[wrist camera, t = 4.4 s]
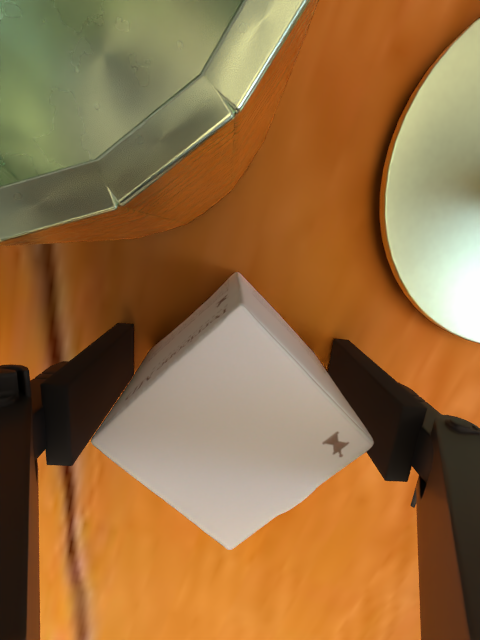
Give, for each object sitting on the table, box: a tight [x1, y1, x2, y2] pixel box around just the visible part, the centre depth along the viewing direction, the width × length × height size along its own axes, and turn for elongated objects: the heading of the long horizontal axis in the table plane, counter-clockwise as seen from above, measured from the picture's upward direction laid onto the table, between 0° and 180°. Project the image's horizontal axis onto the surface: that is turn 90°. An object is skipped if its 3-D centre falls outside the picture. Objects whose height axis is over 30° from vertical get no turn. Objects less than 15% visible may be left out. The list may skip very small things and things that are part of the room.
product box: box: [91, 272, 374, 550], centre depth 12 cm, size 6×6×7 cm
